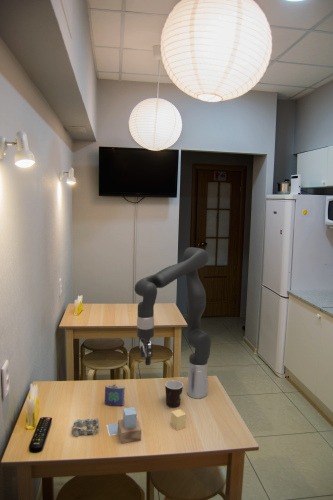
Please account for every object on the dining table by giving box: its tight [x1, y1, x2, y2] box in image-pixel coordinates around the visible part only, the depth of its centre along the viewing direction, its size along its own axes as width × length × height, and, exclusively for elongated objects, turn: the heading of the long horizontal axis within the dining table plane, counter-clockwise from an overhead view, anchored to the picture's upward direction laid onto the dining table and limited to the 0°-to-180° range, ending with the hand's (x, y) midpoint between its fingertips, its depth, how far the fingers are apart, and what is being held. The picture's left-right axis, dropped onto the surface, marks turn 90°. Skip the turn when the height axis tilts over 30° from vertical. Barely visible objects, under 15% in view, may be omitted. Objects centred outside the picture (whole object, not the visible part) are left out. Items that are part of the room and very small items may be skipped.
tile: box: [106, 422, 119, 436], centre depth 150 cm, size 8×8×1 cm
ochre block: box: [170, 408, 187, 431], centre depth 154 cm, size 4×4×6 cm
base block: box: [117, 417, 142, 445], centre depth 146 cm, size 8×8×5 cm
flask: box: [104, 382, 125, 407], centre depth 168 cm, size 9×3×11 cm, turn 88°
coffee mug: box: [164, 379, 184, 409], centre depth 170 cm, size 12×9×10 cm
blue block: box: [122, 406, 138, 429], centre depth 145 cm, size 4×4×6 cm
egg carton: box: [72, 418, 100, 438], centre depth 148 cm, size 11×8×4 cm
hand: (145, 360), depth 159 cm, fingers open, 8 cm apart
